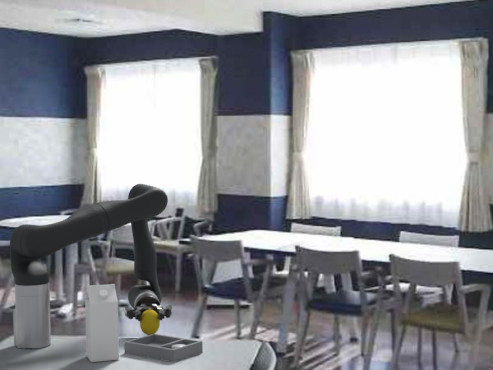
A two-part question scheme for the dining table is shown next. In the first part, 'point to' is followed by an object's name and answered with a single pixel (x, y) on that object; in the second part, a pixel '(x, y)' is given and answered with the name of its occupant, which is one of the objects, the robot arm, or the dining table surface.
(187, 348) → the grey divided tray
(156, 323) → the lemon
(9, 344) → the dining table surface
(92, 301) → the milk carton
